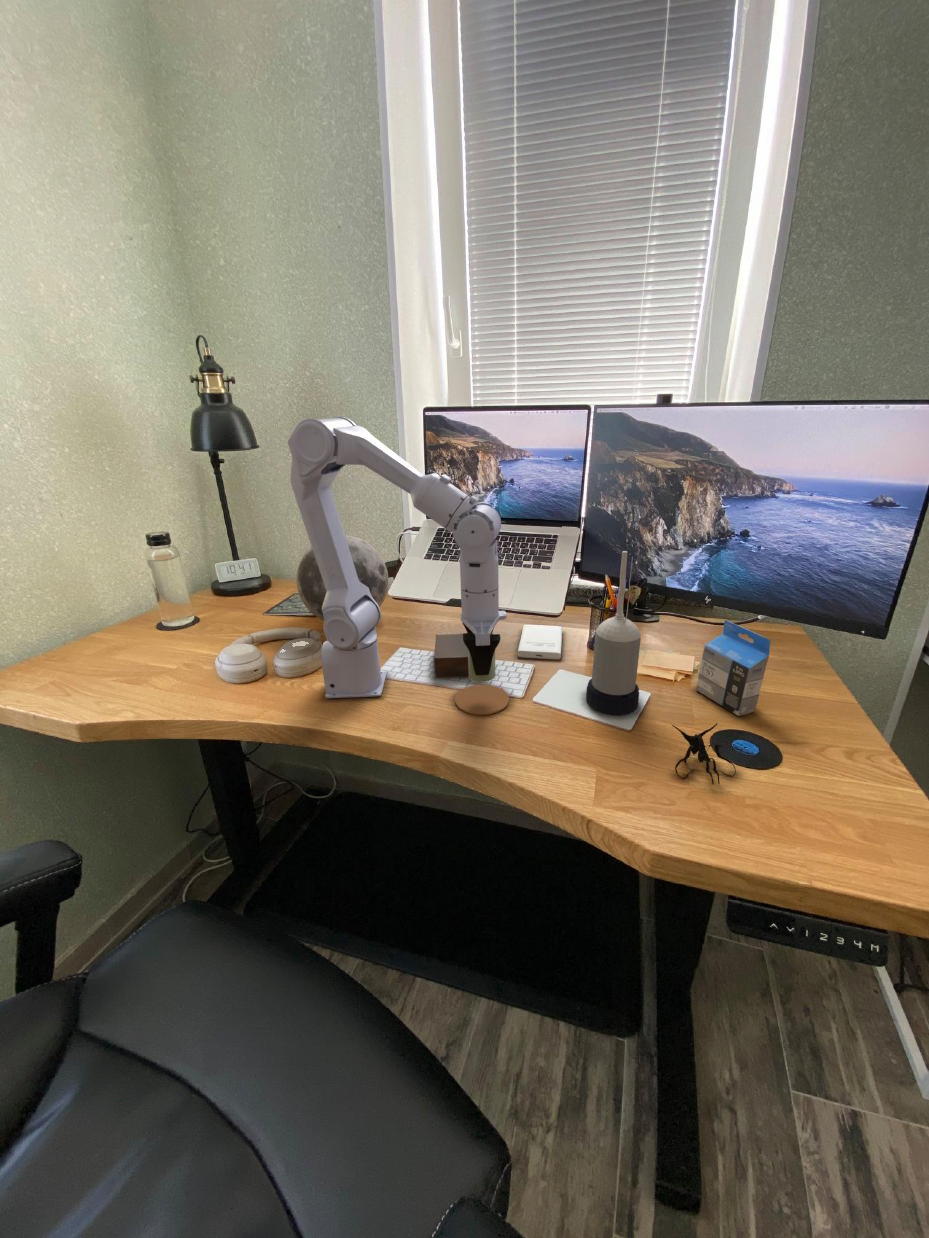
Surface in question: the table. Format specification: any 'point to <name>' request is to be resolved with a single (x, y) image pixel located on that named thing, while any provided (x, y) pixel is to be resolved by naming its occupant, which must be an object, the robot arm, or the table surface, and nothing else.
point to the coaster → (481, 699)
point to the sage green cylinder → (480, 677)
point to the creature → (701, 752)
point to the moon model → (367, 569)
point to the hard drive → (540, 642)
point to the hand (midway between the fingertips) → (481, 666)
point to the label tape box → (734, 669)
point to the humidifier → (615, 660)
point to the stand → (450, 656)
